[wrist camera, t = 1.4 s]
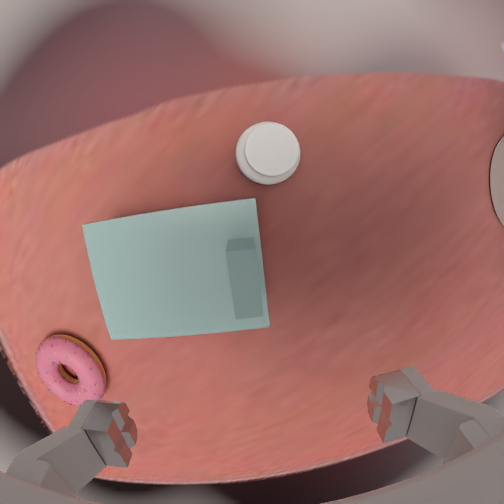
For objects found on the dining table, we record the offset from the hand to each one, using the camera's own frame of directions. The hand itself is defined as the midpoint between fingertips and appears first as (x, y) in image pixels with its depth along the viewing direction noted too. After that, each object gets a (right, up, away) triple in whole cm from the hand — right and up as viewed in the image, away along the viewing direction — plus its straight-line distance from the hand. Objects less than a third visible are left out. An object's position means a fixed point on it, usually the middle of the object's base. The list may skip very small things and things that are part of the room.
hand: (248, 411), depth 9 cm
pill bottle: (+1, +14, +21) cm, 26 cm away
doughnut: (-24, -10, +26) cm, 37 cm away
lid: (-6, +3, +17) cm, 19 cm away
